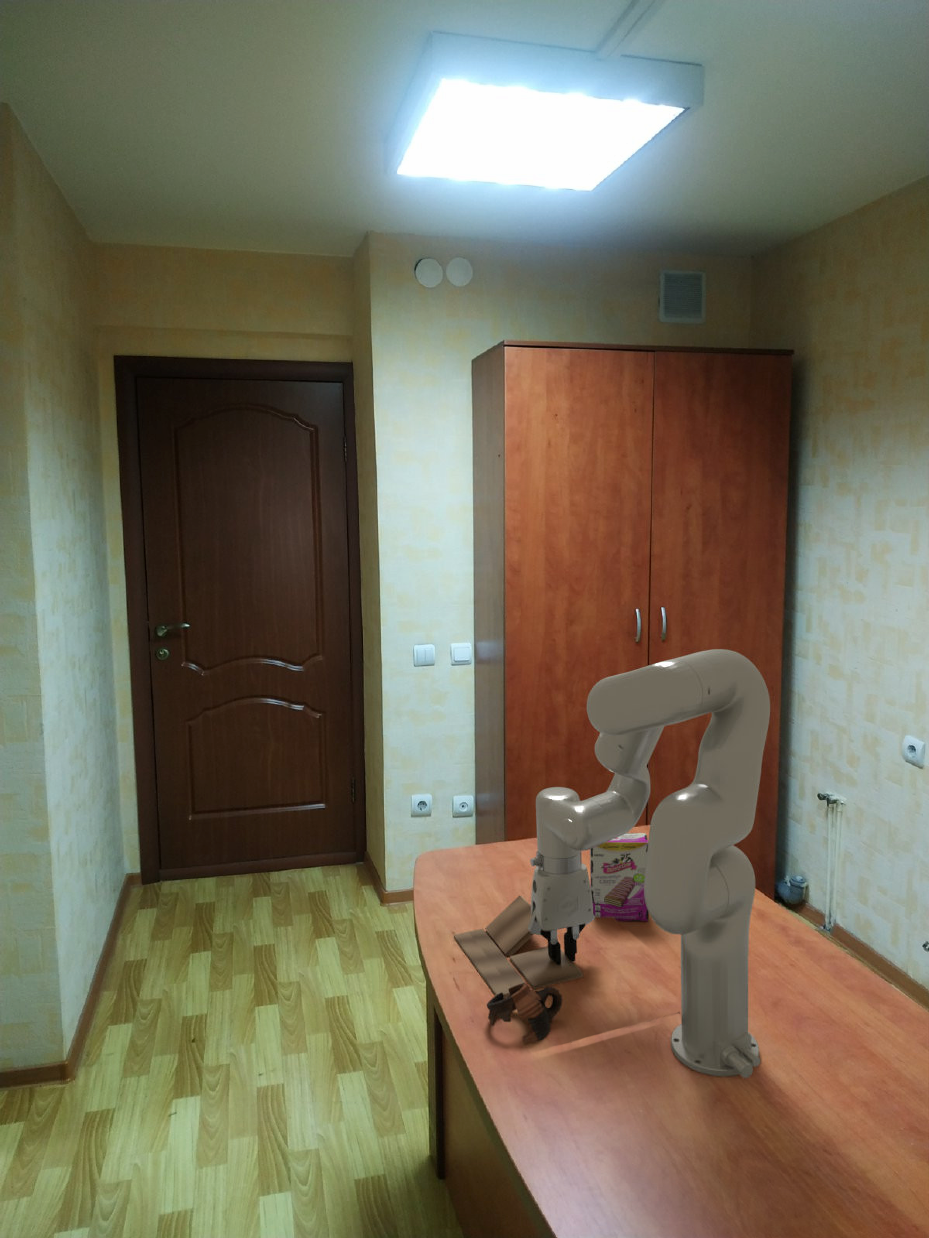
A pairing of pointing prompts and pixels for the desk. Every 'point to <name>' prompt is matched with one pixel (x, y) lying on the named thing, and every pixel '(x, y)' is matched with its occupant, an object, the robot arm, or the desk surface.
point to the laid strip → (489, 961)
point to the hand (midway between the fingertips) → (562, 958)
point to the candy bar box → (619, 878)
